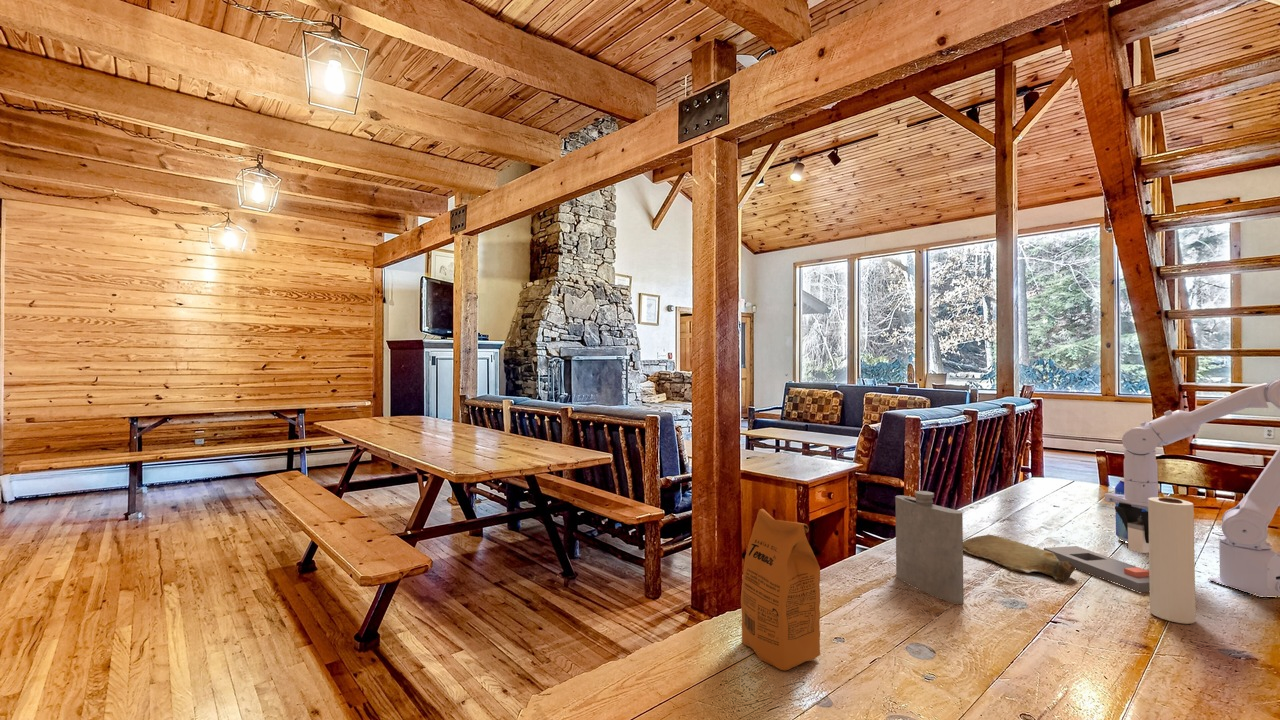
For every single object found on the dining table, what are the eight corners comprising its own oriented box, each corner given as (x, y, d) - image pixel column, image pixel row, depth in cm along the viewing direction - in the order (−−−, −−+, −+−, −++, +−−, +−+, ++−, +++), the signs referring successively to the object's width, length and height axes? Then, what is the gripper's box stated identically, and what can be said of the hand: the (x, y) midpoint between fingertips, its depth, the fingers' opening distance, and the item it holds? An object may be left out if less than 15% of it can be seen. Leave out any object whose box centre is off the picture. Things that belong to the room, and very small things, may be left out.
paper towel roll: (1180, 626, 97) (1178, 504, 97) (1141, 612, 103) (1139, 497, 103) (1209, 621, 99) (1206, 502, 99) (1168, 607, 105) (1166, 494, 105)
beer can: (1169, 547, 139) (1167, 484, 139) (1135, 548, 139) (1134, 484, 139) (1138, 537, 147) (1137, 477, 148) (1107, 537, 147) (1106, 477, 148)
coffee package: (779, 628, 98) (778, 503, 98) (830, 662, 86) (828, 521, 86) (731, 639, 94) (730, 509, 94) (777, 677, 82) (776, 528, 82)
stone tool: (1090, 575, 120) (982, 543, 143) (1088, 557, 120) (980, 527, 143) (1055, 591, 116) (950, 554, 139) (1052, 571, 116) (948, 538, 139)
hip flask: (967, 602, 108) (966, 499, 108) (951, 605, 106) (950, 501, 107) (904, 573, 123) (903, 483, 123) (889, 576, 121) (888, 484, 122)
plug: (1156, 551, 125) (1155, 517, 125) (1142, 553, 124) (1141, 519, 124) (1141, 547, 128) (1140, 514, 128) (1128, 549, 127) (1127, 515, 127)
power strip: (1176, 590, 113) (1176, 575, 113) (1138, 593, 112) (1138, 578, 112) (1076, 554, 135) (1076, 541, 135) (1043, 556, 133) (1043, 543, 133)
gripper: (1192, 486, 120) (1193, 549, 120) (1120, 473, 134) (1121, 530, 134) (1167, 487, 118) (1168, 551, 118) (1097, 475, 132) (1098, 532, 132)
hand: (1142, 540), depth 126 cm, fingers closed on plug, 3 cm apart
